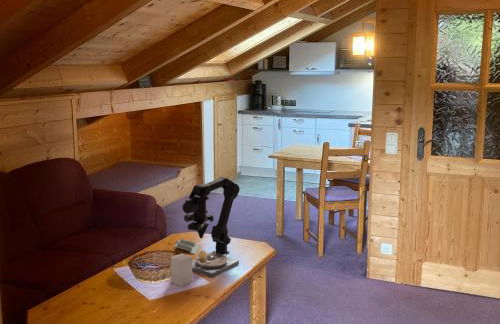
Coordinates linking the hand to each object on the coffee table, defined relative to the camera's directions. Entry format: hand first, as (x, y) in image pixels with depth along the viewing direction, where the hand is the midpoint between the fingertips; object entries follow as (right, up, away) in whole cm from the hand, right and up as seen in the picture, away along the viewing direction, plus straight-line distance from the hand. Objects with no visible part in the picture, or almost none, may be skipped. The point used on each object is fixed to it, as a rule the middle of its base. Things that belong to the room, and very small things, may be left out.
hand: (201, 238), depth 277 cm
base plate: (+6, -14, -4) cm, 15 cm away
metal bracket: (-10, -10, +20) cm, 24 cm away
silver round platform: (+6, -11, -5) cm, 14 cm away
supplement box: (-7, -17, -25) cm, 31 cm away
